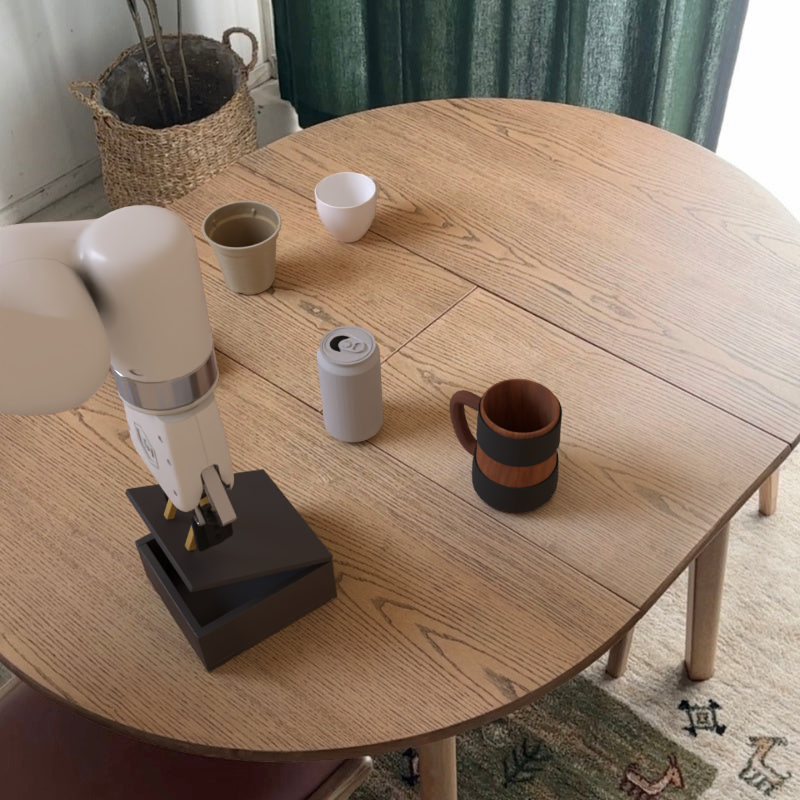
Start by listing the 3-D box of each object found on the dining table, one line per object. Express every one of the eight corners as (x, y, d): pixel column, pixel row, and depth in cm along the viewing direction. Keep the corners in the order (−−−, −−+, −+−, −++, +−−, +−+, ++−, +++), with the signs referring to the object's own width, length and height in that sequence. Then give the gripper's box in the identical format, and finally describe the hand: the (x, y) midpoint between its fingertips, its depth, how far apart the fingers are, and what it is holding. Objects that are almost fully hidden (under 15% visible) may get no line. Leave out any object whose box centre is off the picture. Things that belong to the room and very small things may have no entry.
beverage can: (339, 397, 117) (331, 316, 108) (393, 412, 115) (389, 331, 107) (314, 437, 113) (304, 356, 104) (369, 453, 111) (363, 372, 103)
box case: (208, 673, 94) (197, 638, 90) (147, 577, 101) (134, 541, 97) (337, 596, 99) (332, 560, 95) (270, 510, 107) (263, 473, 102)
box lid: (190, 592, 85) (209, 538, 83) (124, 493, 93) (139, 440, 90) (331, 561, 95) (352, 511, 92) (261, 473, 102) (279, 424, 99)
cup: (306, 236, 137) (301, 193, 132) (356, 199, 143) (353, 156, 138) (351, 259, 134) (348, 215, 129) (401, 220, 139) (400, 177, 134)
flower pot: (304, 274, 132) (297, 217, 126) (253, 315, 127) (243, 258, 121) (248, 247, 136) (239, 191, 130) (197, 286, 131) (185, 229, 125)
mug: (471, 428, 113) (473, 348, 105) (571, 474, 109) (582, 395, 100) (427, 480, 109) (426, 402, 100) (530, 531, 104) (538, 453, 95)
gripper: (71, 321, 81) (117, 475, 94) (170, 459, 71) (206, 610, 84) (160, 285, 84) (193, 439, 97) (267, 413, 74) (287, 565, 87)
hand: (198, 517), depth 90 cm, fingers closed on box lid, 5 cm apart
